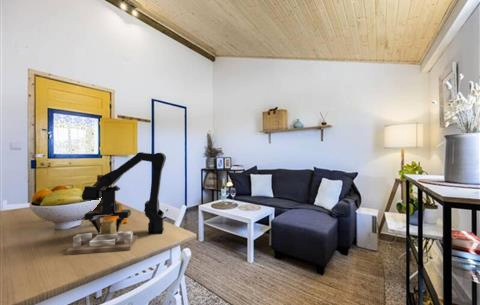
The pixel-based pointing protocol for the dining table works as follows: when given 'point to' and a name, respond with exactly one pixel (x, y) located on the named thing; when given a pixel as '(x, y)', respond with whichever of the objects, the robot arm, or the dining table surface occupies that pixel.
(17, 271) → the dining table surface
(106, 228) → the tan rectangular block
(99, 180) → the olive oil
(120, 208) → the bracket
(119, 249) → the coupling base
